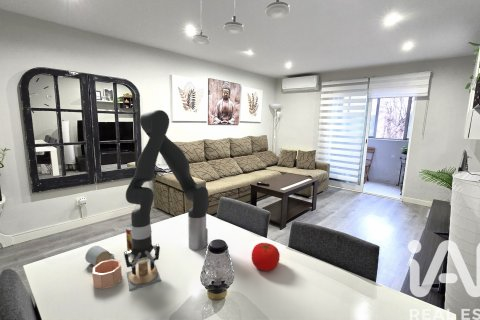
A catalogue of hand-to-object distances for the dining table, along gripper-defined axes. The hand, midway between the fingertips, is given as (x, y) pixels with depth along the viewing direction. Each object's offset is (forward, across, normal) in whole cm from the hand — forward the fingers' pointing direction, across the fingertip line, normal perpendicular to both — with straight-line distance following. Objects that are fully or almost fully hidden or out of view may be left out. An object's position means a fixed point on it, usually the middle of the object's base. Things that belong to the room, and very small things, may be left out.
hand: (143, 271), depth 100 cm
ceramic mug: (+3, +15, -20) cm, 26 cm away
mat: (+3, 0, 0) cm, 3 cm away
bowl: (+3, +13, -5) cm, 14 cm away
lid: (+2, 0, 0) cm, 2 cm away
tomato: (+3, -50, +18) cm, 53 cm away
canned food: (+3, 0, -26) cm, 26 cm away
